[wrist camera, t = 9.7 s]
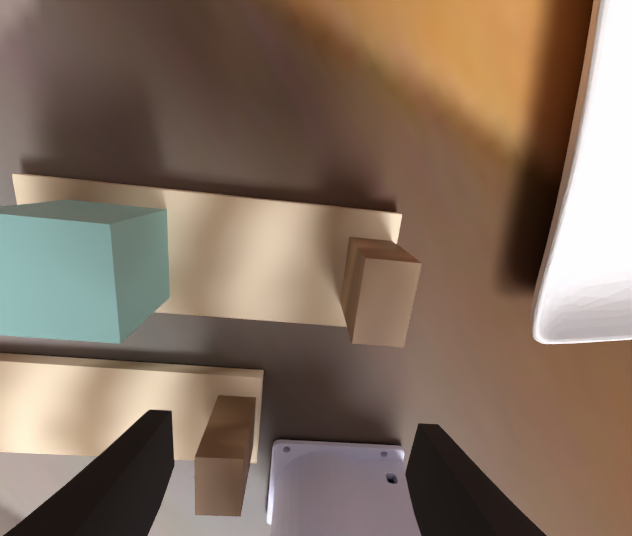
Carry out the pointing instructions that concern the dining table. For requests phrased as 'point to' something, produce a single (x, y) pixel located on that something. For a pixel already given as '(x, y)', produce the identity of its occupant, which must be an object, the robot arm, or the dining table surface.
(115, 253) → the teal block
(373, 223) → the strip
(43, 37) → the dining table surface
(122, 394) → the empty strip
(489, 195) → the dining table surface
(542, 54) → the dining table surface
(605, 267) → the salad plate
